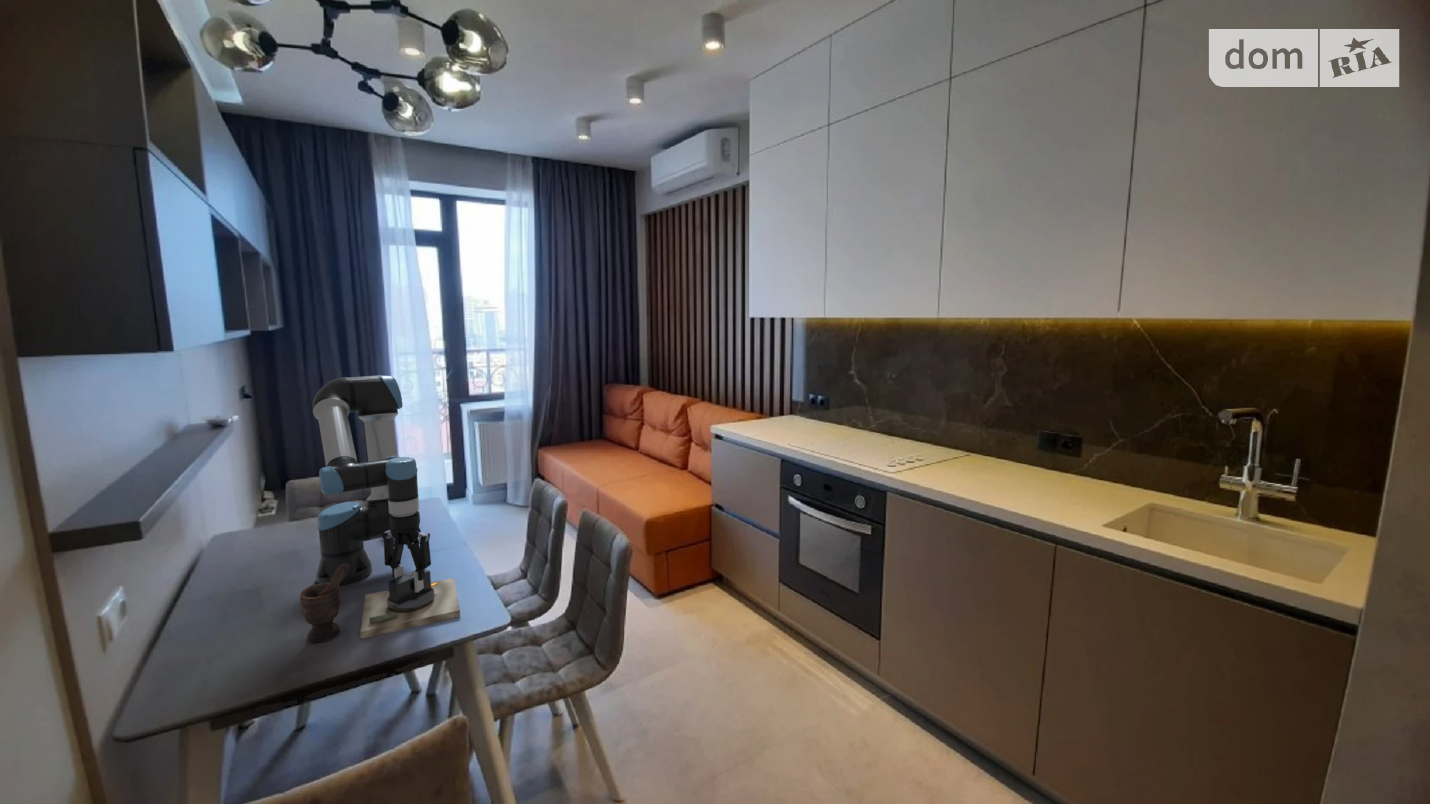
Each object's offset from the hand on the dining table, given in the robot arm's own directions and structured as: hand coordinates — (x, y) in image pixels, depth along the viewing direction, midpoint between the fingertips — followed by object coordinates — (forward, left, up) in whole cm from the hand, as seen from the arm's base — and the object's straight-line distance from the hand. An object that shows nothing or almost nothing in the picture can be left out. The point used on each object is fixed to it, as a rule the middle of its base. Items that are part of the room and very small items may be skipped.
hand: (409, 589), depth 162 cm
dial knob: (+1, +1, -4) cm, 4 cm away
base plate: (0, 0, -6) cm, 6 cm away
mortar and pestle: (-19, -5, -7) cm, 20 cm away
